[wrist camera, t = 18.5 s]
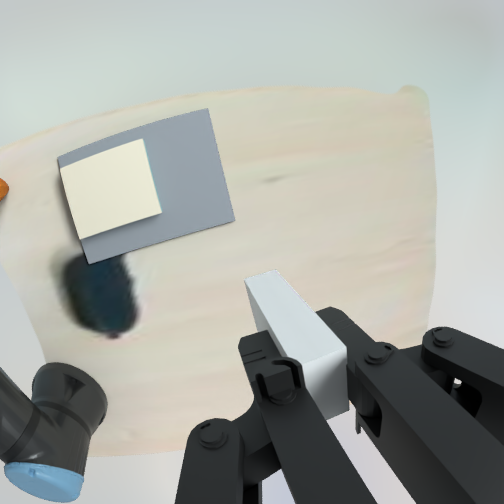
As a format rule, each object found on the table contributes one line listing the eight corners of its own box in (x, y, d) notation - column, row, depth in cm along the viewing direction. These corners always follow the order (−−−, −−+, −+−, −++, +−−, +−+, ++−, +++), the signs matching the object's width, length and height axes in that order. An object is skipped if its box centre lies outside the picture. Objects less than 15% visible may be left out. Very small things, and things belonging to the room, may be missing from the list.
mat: (90, 262, 39) (89, 264, 39) (59, 157, 34) (57, 157, 34) (234, 219, 43) (235, 220, 42) (207, 109, 38) (208, 108, 37)
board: (162, 210, 39) (84, 236, 38) (144, 139, 36) (65, 168, 35) (161, 212, 38) (79, 239, 36) (141, 138, 34) (59, 168, 33)
